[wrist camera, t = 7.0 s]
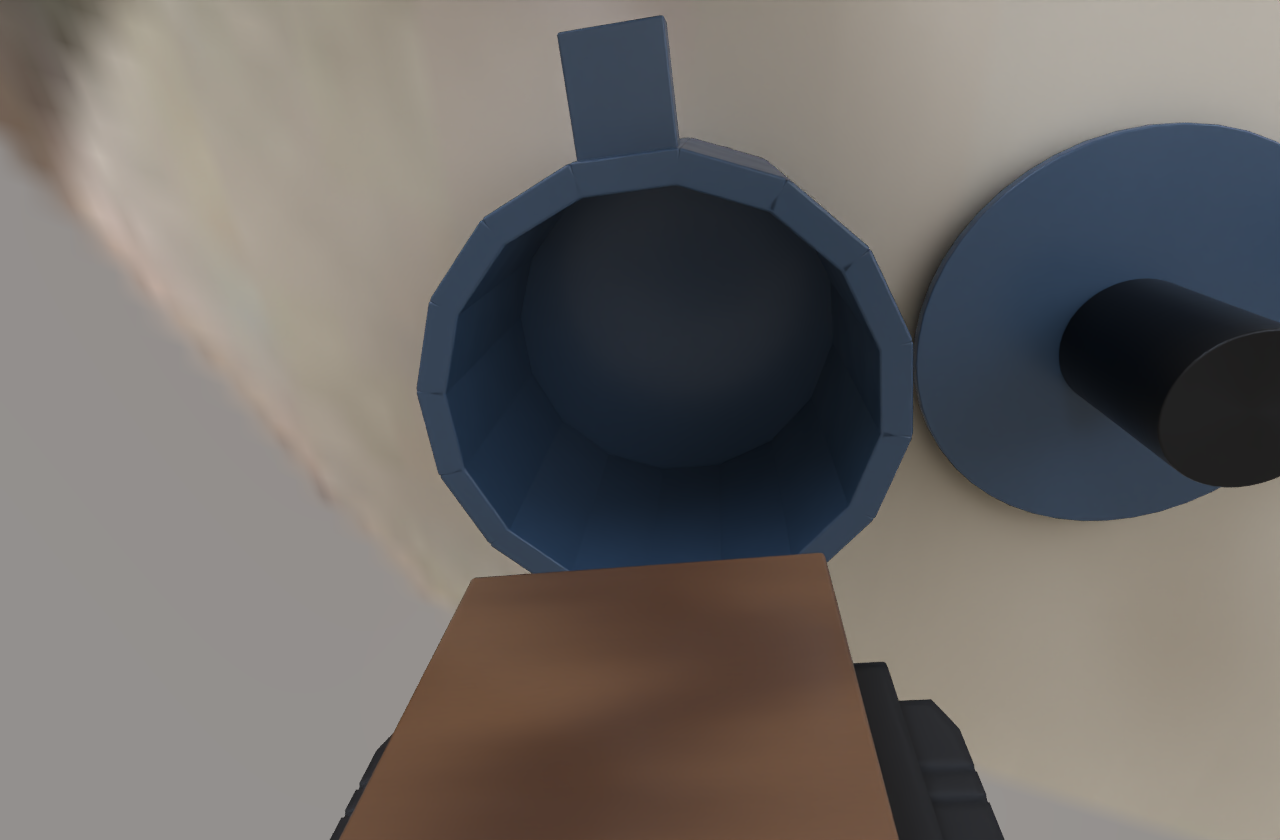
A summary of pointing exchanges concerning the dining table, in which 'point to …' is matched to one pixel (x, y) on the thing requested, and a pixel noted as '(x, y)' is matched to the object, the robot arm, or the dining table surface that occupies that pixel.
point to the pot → (662, 346)
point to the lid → (1113, 327)
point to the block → (636, 713)
